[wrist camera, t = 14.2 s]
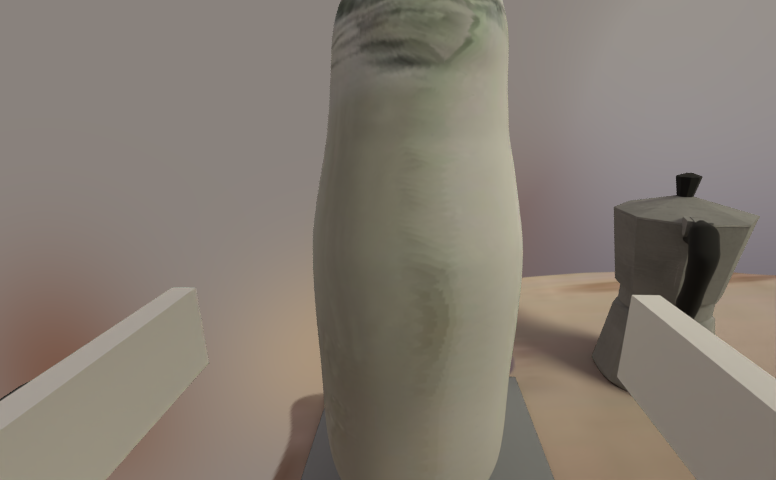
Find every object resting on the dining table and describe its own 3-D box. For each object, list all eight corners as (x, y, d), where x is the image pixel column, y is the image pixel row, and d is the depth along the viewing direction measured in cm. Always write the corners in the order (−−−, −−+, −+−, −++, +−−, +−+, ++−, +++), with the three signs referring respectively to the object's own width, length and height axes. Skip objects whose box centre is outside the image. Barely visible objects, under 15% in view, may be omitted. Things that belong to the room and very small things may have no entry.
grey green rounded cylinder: (317, 445, 27) (282, -14, 19) (449, 411, 30) (468, 3, 22) (348, 606, 18) (306, -141, 10) (532, 534, 21) (618, -81, 13)
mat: (514, 381, 34) (515, 377, 34) (639, 715, 15) (641, 707, 15) (336, 376, 35) (336, 371, 35) (240, 677, 16) (238, 670, 16)
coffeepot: (590, 327, 43) (615, 163, 37) (696, 347, 38) (740, 165, 33) (590, 420, 29) (628, 187, 24) (750, 465, 25) (837, 196, 20)
